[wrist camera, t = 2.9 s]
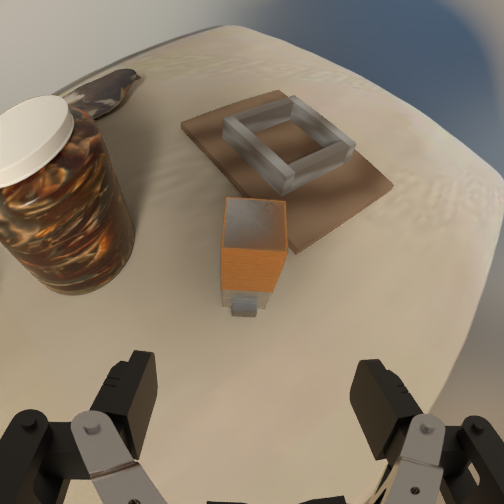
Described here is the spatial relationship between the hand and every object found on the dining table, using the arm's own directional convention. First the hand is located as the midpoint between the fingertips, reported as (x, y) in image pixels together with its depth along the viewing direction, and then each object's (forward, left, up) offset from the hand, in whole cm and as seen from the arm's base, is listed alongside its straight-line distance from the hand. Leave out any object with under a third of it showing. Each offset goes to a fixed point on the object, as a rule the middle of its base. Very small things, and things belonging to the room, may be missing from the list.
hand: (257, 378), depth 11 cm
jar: (-20, -5, -14) cm, 25 cm away
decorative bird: (-40, 0, -14) cm, 42 cm away
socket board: (-18, +20, -13) cm, 30 cm away
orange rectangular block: (-7, +6, -13) cm, 16 cm away
